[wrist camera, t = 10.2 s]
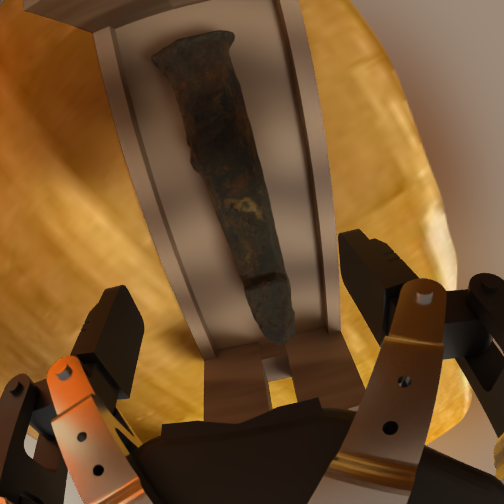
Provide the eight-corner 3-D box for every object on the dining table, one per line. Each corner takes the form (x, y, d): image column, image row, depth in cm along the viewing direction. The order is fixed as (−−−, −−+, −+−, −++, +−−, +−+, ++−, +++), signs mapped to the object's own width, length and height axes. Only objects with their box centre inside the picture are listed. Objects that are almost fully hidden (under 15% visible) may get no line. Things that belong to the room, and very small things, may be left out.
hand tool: (160, 55, 14) (138, 44, 10) (231, 36, 14) (234, 17, 10) (240, 321, 23) (244, 368, 19) (292, 309, 23) (305, 355, 19)
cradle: (334, 339, 27) (366, 421, 19) (214, 364, 27) (216, 453, 19) (276, -44, 12) (315, -120, 4) (98, -1, 12) (21, -44, 4)
